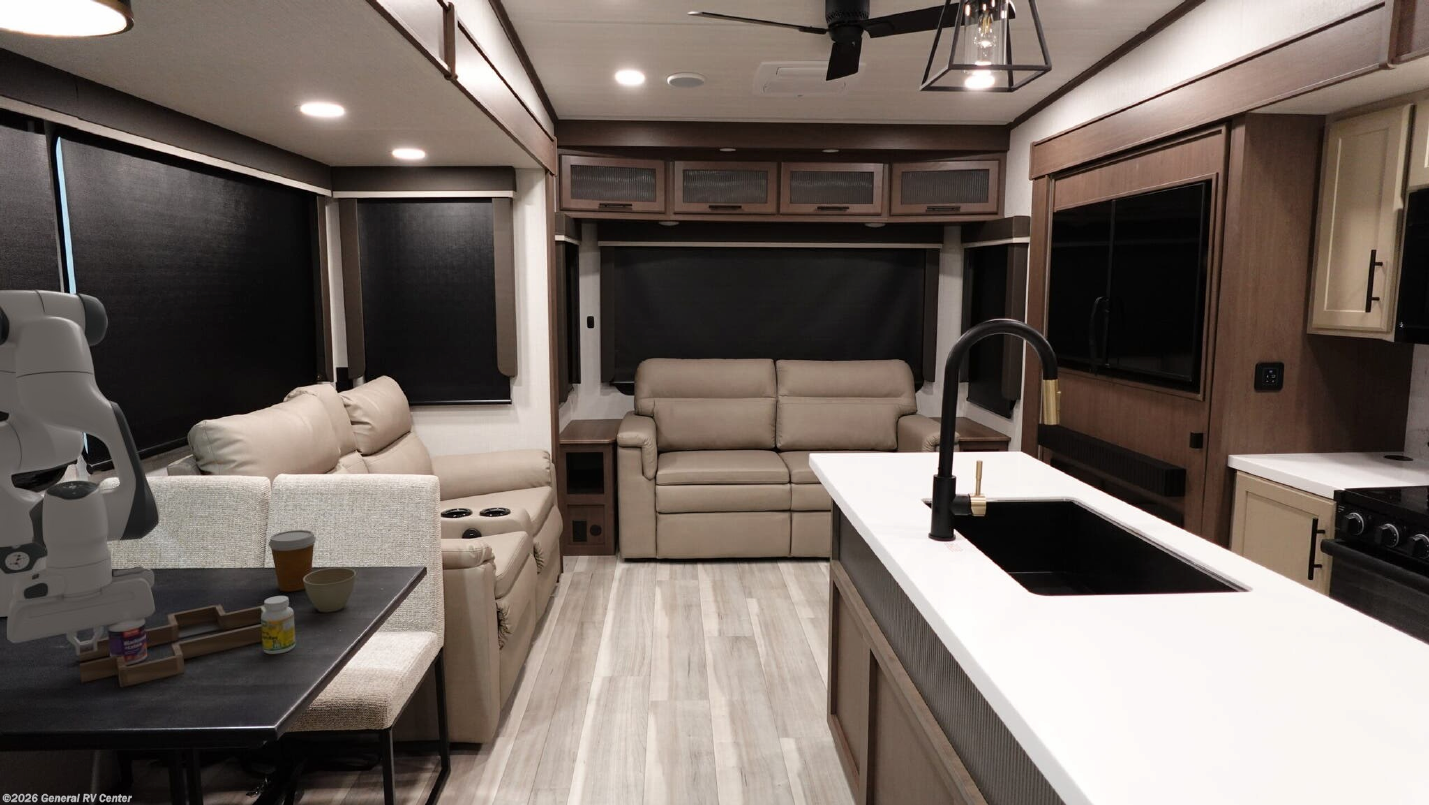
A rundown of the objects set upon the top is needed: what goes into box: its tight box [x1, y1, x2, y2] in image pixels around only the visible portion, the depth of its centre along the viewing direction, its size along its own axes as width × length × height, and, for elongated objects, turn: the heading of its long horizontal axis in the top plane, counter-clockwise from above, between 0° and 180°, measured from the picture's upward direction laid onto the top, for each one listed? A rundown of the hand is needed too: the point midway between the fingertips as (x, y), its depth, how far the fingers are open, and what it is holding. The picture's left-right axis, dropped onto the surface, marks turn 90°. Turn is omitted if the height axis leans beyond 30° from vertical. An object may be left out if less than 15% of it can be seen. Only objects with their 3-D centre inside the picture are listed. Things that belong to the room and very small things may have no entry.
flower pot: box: [303, 567, 357, 613], centre depth 169 cm, size 10×10×7 cm
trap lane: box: [77, 603, 266, 688], centre depth 149 cm, size 23×30×3 cm
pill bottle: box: [107, 611, 148, 666], centre depth 143 cm, size 5×5×10 cm
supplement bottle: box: [260, 595, 296, 655], centre depth 149 cm, size 5×5×10 cm
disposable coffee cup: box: [267, 529, 317, 592], centre depth 180 cm, size 10×10×12 cm
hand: (86, 652), depth 140 cm, fingers closed
